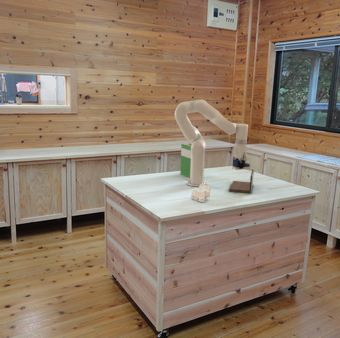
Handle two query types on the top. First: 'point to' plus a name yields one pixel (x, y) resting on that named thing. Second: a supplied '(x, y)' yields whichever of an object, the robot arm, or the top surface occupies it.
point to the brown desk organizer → (242, 185)
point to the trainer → (236, 165)
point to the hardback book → (185, 159)
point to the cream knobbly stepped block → (199, 195)
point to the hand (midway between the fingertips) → (238, 167)
